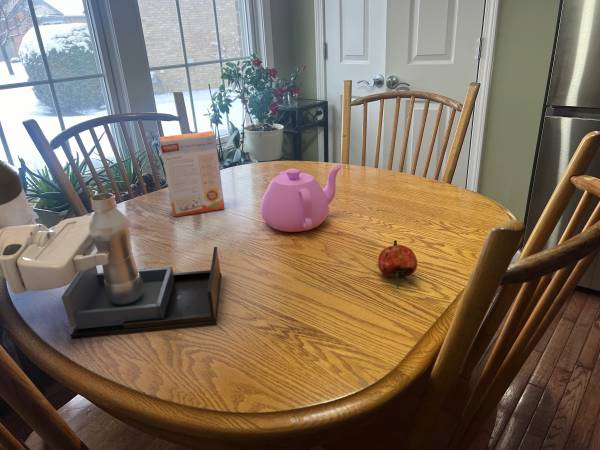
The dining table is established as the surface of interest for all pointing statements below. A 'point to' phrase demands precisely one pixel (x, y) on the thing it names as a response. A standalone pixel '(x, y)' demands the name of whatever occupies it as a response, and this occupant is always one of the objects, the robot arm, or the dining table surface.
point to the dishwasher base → (176, 305)
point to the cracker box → (192, 173)
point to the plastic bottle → (115, 250)
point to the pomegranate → (397, 261)
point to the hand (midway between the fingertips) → (116, 244)
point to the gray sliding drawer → (107, 312)
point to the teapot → (297, 200)
